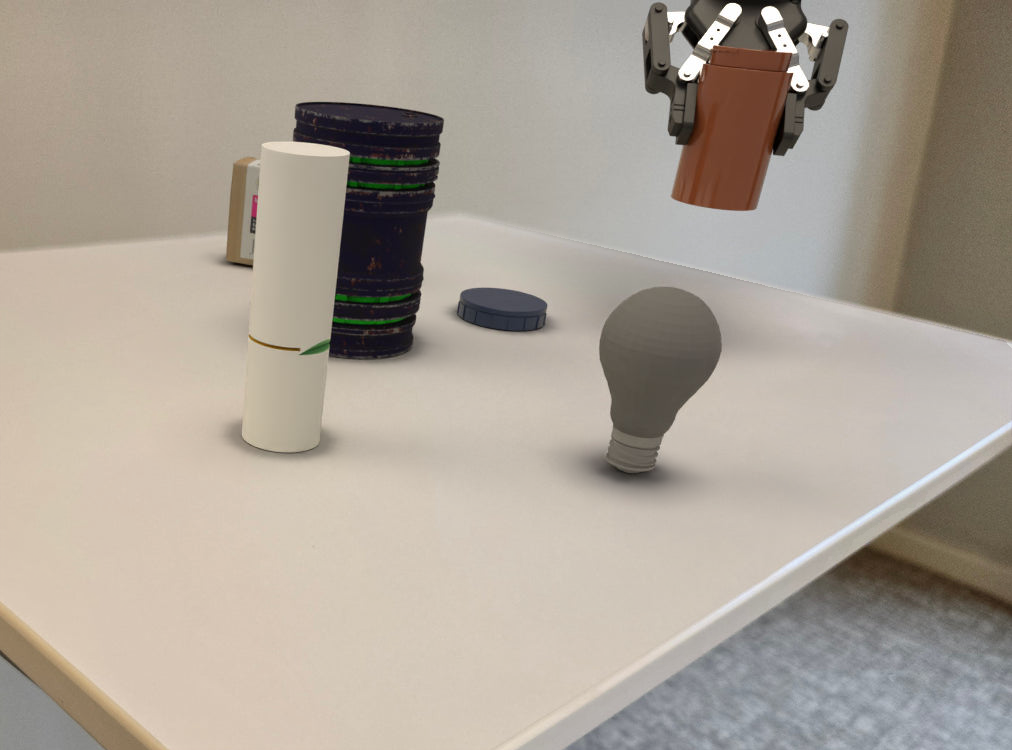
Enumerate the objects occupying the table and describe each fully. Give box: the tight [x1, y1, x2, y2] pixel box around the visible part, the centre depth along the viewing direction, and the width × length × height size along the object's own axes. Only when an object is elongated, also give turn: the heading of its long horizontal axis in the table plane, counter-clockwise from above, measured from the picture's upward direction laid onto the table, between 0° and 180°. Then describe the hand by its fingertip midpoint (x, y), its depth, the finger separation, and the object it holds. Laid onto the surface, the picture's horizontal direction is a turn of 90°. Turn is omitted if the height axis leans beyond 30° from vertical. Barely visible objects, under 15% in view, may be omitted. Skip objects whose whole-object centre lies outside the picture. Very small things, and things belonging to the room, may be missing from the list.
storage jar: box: [292, 101, 445, 360], centre depth 73 cm, size 10×10×15 cm
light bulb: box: [598, 286, 723, 474], centre depth 57 cm, size 6×6×10 cm
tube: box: [241, 141, 350, 453], centre depth 55 cm, size 4×4×15 cm
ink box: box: [225, 156, 261, 266], centre depth 91 cm, size 10×4×8 cm, turn 73°
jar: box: [670, 44, 794, 212], centre depth 76 cm, size 6×6×10 cm
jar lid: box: [456, 287, 548, 332], centre depth 84 cm, size 7×7×2 cm
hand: (733, 142), depth 75 cm, fingers closed on jar, 6 cm apart
